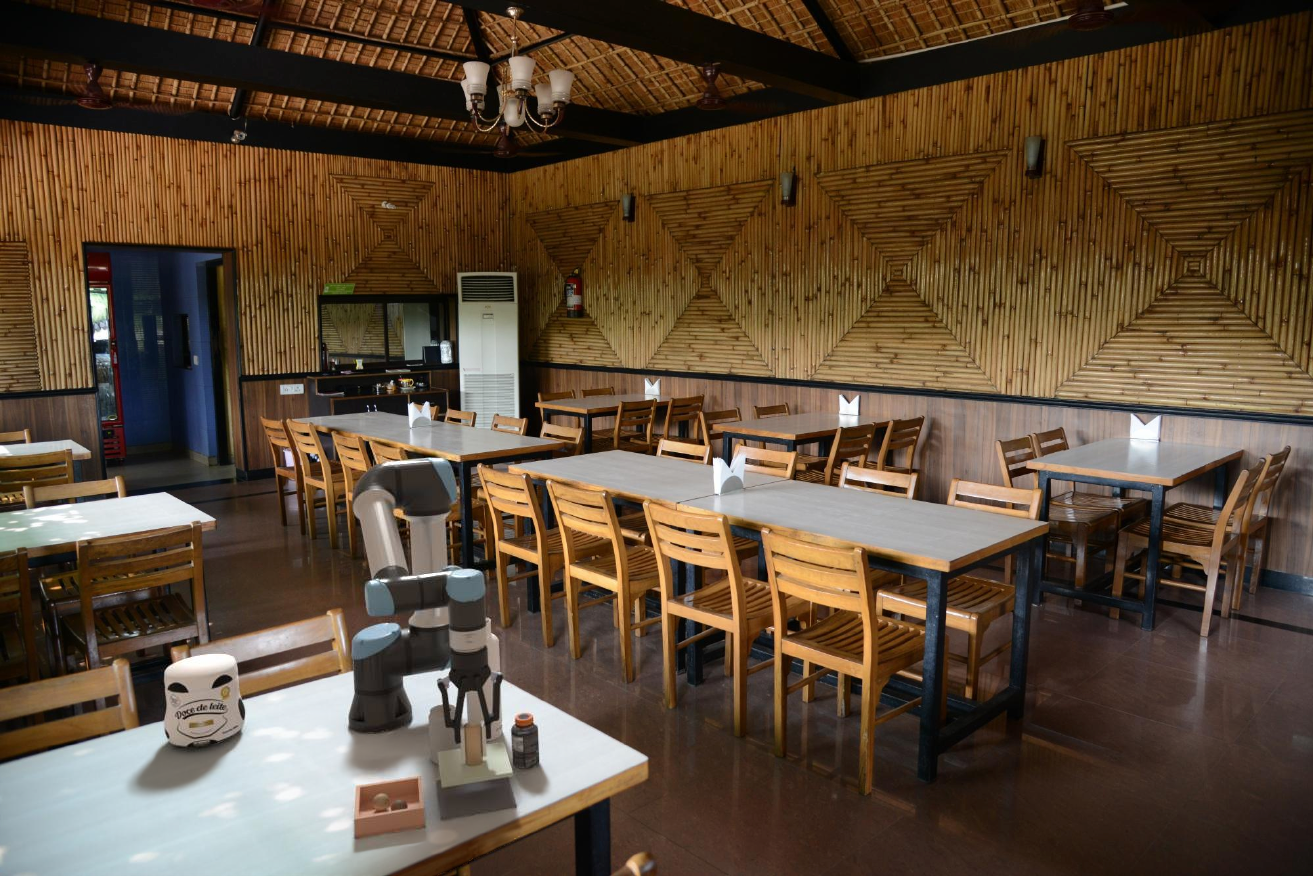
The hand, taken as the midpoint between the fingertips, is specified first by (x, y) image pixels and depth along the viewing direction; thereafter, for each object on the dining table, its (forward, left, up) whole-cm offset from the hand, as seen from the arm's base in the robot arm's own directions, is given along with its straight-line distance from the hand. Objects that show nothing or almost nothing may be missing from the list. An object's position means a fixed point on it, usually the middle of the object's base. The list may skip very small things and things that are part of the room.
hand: (473, 755), depth 183 cm
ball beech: (+1, -19, -7) cm, 20 cm away
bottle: (-28, +5, -9) cm, 30 cm away
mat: (0, 0, -9) cm, 9 cm away
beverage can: (-18, -5, -9) cm, 20 cm away
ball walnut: (+4, -15, -7) cm, 17 cm away
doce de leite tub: (-48, -59, -9) cm, 76 cm away
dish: (+2, -17, -9) cm, 19 cm away
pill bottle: (-10, +12, -9) cm, 18 cm away
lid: (0, 0, -2) cm, 2 cm away
